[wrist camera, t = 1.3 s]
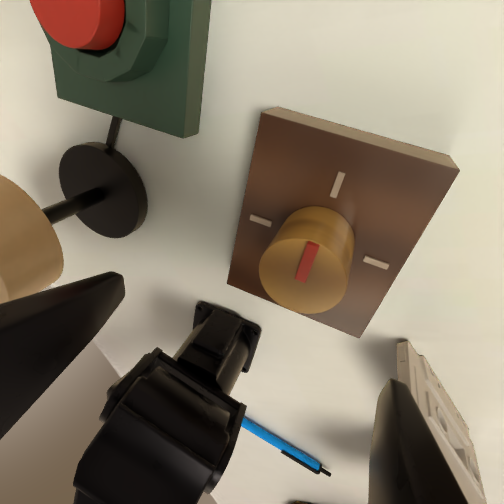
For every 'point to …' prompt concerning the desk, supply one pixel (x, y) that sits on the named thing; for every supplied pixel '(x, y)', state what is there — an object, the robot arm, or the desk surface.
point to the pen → (285, 448)
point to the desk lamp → (67, 214)
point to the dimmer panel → (339, 203)
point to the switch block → (143, 67)
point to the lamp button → (81, 21)
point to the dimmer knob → (309, 261)
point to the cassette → (442, 420)
